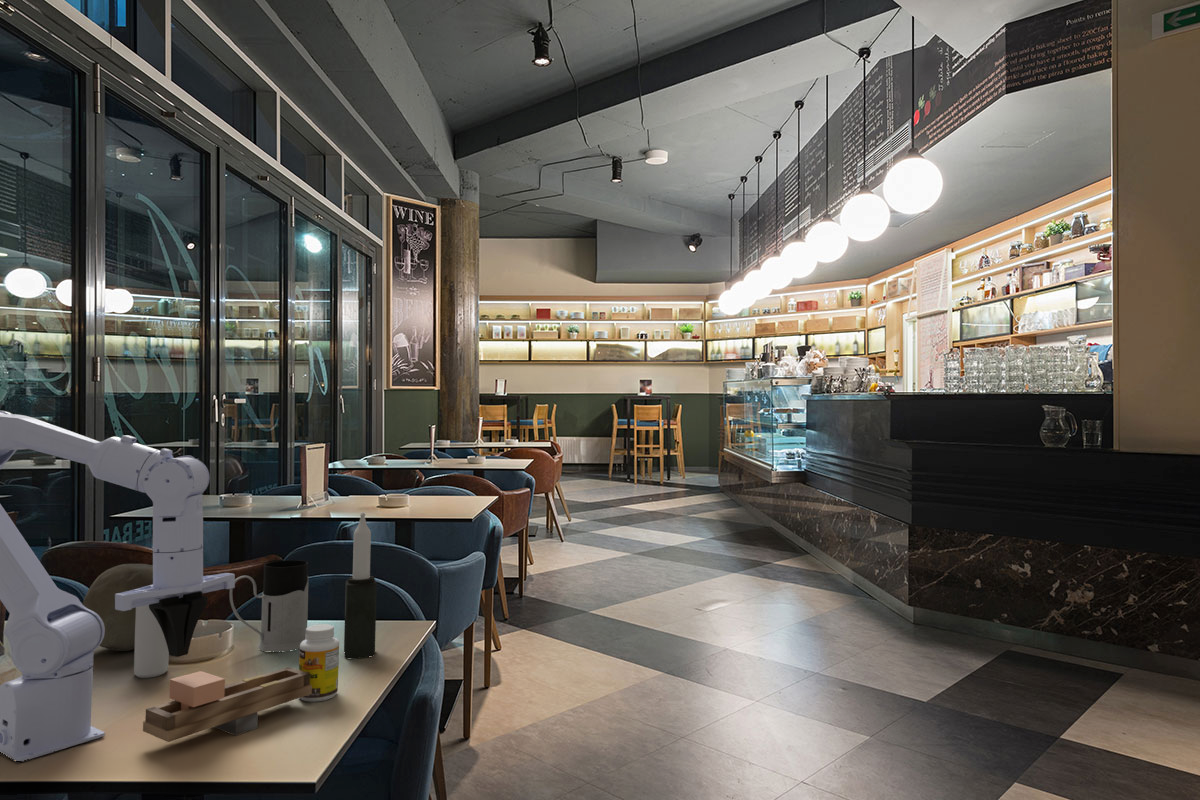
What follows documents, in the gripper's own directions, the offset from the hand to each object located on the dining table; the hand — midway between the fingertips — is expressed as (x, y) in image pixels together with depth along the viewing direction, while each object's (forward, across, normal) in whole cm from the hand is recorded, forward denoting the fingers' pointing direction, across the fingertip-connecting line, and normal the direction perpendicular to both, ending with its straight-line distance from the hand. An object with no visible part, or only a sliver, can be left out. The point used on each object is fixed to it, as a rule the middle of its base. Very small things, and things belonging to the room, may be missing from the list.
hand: (178, 654), depth 96 cm
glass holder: (+11, +30, +24) cm, 40 cm away
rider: (+7, +1, -3) cm, 8 cm away
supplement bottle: (+11, +19, -3) cm, 22 cm away
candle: (+11, +37, +8) cm, 39 cm away
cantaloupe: (+10, +17, +46) cm, 50 cm away
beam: (+11, +6, -3) cm, 12 cm away
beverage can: (+10, +11, +28) cm, 32 cm away
